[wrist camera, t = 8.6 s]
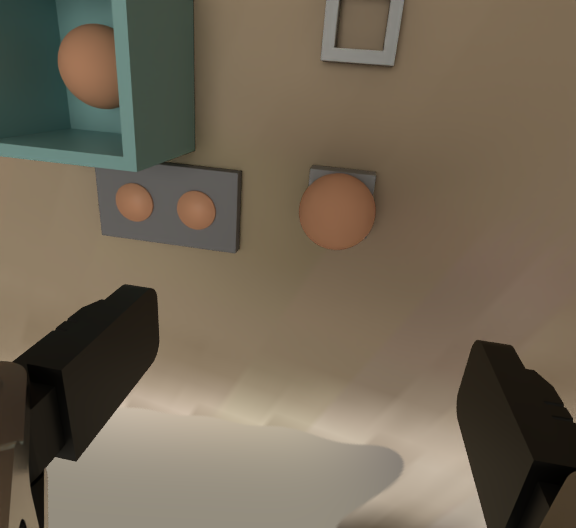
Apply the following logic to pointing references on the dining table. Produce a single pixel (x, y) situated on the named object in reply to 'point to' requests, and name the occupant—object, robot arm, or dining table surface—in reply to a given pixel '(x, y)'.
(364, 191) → the ball
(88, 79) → the ball
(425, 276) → the dining table surface
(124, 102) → the teal open box
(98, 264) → the dining table surface
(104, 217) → the card
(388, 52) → the frame
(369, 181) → the frame
